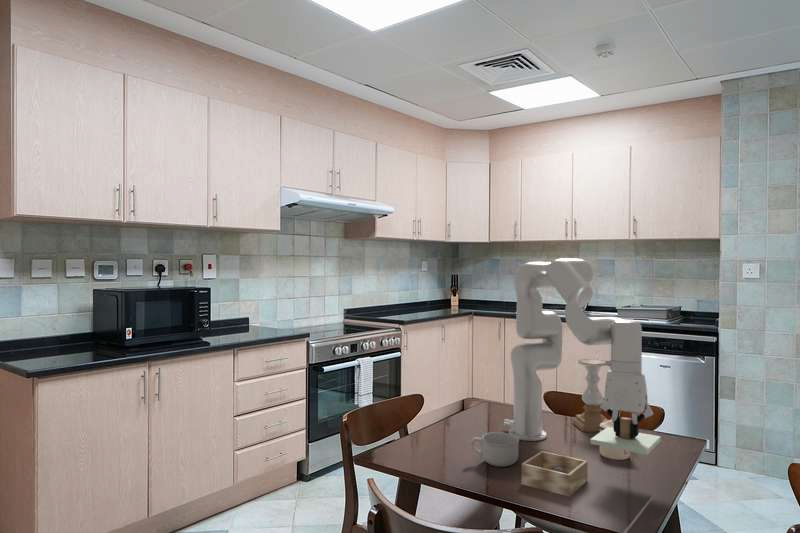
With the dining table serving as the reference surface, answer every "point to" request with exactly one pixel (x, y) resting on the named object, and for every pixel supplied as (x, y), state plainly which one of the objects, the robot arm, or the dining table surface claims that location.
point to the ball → (559, 469)
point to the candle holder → (591, 398)
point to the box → (554, 473)
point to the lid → (626, 439)
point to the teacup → (498, 448)
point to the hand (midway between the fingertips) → (625, 435)
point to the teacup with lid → (612, 452)
